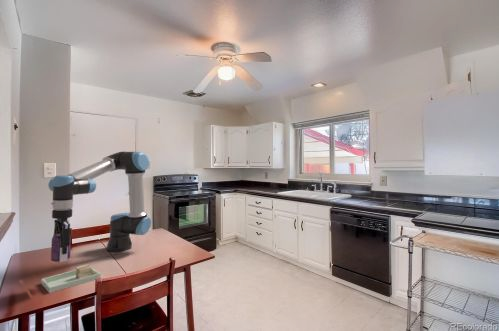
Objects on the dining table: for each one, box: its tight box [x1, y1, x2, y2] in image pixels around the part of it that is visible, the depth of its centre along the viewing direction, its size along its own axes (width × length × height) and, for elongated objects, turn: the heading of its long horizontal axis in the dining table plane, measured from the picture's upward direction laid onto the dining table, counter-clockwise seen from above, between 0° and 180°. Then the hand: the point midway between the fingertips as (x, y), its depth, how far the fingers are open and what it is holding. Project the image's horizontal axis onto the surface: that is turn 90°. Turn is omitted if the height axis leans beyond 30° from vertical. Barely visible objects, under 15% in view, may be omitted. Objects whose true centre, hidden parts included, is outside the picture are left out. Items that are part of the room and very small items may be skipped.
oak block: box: [75, 263, 93, 279], centre depth 125 cm, size 5×5×5 cm
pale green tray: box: [41, 267, 101, 294], centre depth 121 cm, size 13×20×3 cm, turn 141°
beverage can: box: [50, 233, 72, 263], centre depth 117 cm, size 7×7×12 cm
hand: (60, 258), depth 117 cm, fingers closed on beverage can, 7 cm apart
